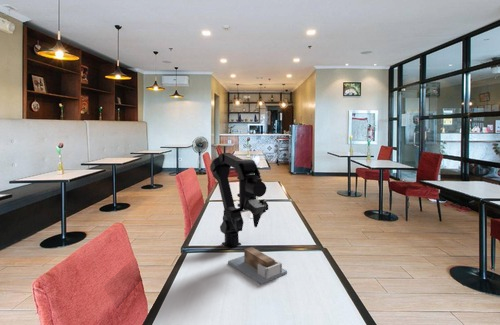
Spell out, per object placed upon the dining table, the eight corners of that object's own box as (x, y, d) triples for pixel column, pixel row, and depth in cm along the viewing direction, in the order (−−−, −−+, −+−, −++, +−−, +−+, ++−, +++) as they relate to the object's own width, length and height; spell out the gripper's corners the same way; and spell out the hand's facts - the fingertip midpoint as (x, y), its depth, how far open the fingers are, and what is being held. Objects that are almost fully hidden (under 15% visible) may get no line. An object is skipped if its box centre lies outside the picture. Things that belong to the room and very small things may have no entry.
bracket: (228, 263, 120) (227, 252, 120) (252, 255, 128) (252, 244, 127) (261, 284, 105) (261, 271, 104) (287, 273, 112) (287, 261, 111)
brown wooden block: (244, 261, 120) (244, 249, 119) (251, 259, 122) (251, 246, 121) (266, 276, 108) (266, 262, 108) (274, 273, 110) (274, 259, 109)
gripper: (239, 199, 112) (239, 241, 114) (277, 191, 123) (277, 230, 125) (222, 193, 120) (223, 232, 122) (259, 187, 132) (259, 223, 134)
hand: (246, 229), depth 126 cm, fingers open, 9 cm apart
